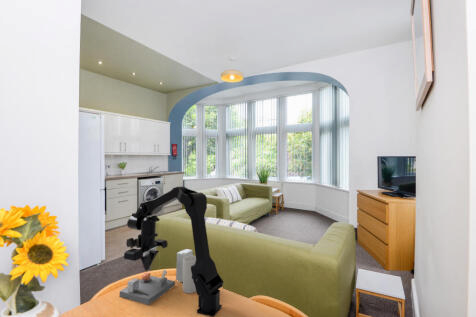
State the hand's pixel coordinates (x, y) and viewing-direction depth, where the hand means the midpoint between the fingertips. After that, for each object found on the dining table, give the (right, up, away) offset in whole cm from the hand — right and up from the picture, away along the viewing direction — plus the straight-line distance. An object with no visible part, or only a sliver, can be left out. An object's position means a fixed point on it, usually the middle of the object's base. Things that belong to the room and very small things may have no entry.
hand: (146, 270), depth 91 cm
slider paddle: (-2, -3, -8) cm, 9 cm away
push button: (0, -3, 0) cm, 3 cm away
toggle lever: (+7, -3, -3) cm, 8 cm away
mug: (+19, -7, -1) cm, 20 cm away
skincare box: (+14, -7, +6) cm, 17 cm away
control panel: (+3, -6, -4) cm, 8 cm away
